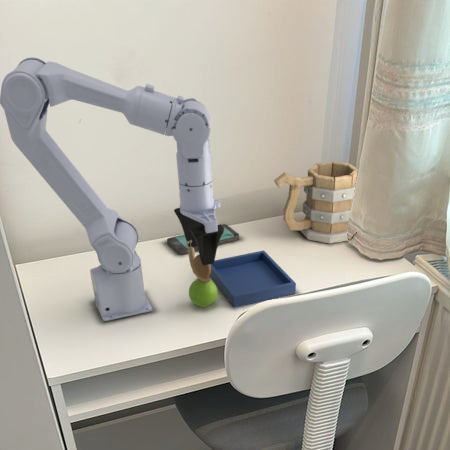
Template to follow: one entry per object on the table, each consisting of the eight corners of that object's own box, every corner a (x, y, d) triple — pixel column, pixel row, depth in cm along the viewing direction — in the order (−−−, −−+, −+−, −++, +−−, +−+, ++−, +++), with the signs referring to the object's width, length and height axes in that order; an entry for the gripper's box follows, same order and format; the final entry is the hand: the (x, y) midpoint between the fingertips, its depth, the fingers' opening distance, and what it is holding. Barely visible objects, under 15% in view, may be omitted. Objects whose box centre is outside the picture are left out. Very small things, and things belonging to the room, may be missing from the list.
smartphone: (165, 237, 142) (225, 222, 147) (166, 243, 143) (225, 227, 148) (179, 250, 137) (240, 234, 142) (179, 256, 138) (240, 239, 143)
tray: (295, 293, 124) (296, 283, 122) (233, 307, 120) (233, 296, 119) (263, 260, 135) (263, 250, 133) (206, 272, 132) (206, 261, 130)
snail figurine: (202, 292, 125) (199, 235, 117) (223, 305, 121) (221, 246, 114) (181, 302, 122) (176, 244, 115) (201, 315, 118) (198, 256, 111)
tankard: (341, 216, 151) (347, 151, 142) (366, 237, 142) (374, 170, 132) (262, 229, 147) (263, 163, 137) (283, 252, 137) (285, 184, 128)
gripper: (233, 190, 102) (236, 267, 111) (203, 163, 113) (208, 234, 122) (192, 198, 101) (198, 275, 109) (165, 169, 111) (173, 242, 120)
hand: (200, 254), depth 115 cm, fingers open, 7 cm apart
